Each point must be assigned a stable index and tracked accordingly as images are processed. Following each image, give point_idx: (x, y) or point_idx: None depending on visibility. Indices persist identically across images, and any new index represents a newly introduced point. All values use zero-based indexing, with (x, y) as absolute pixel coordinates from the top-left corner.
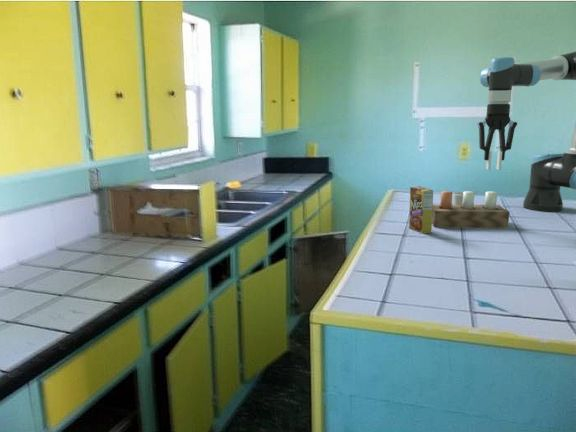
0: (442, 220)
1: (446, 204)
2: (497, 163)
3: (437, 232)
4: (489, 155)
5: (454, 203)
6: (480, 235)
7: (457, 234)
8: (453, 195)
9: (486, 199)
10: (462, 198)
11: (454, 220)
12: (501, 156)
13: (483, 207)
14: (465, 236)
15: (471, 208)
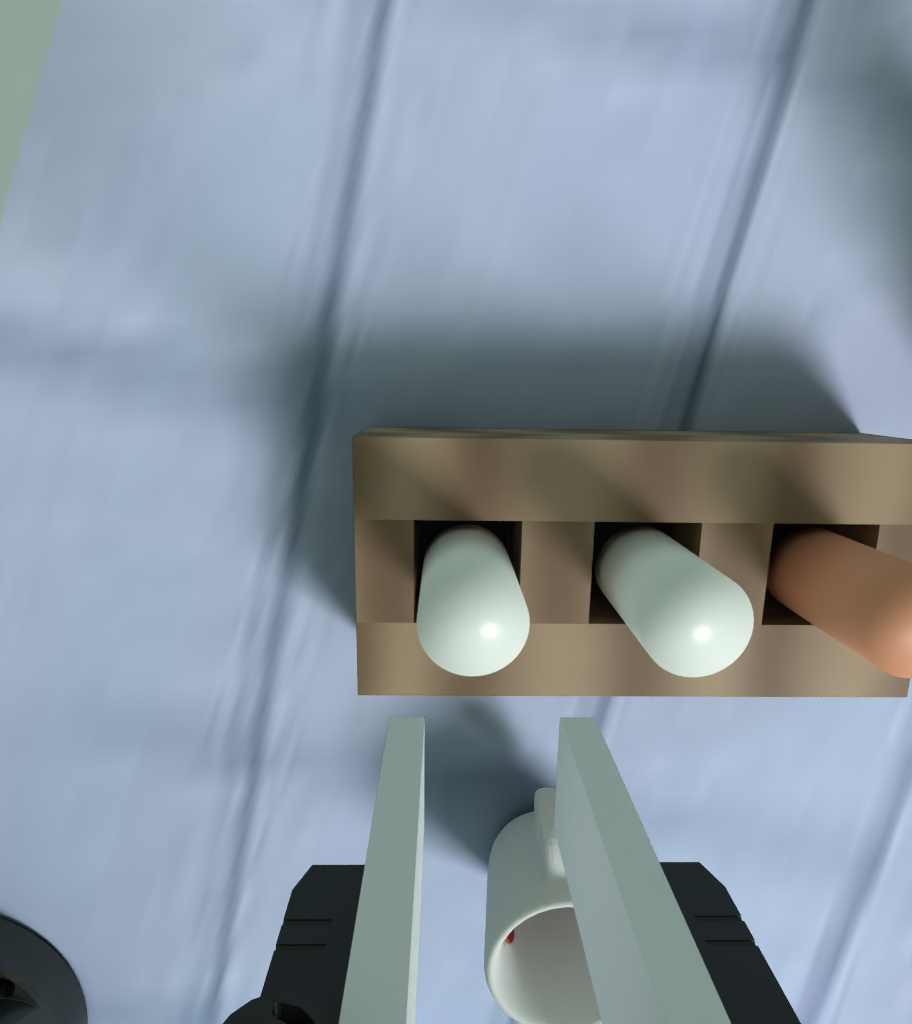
0: (838, 436)
1: (855, 543)
2: (420, 867)
3: (888, 280)
4: (684, 922)
5: None
6: (621, 208)
7: (770, 229)
8: None
9: (516, 579)
10: None
11: (752, 436)
12: (369, 902)
13: None
14: (734, 173)
15: (630, 536)
